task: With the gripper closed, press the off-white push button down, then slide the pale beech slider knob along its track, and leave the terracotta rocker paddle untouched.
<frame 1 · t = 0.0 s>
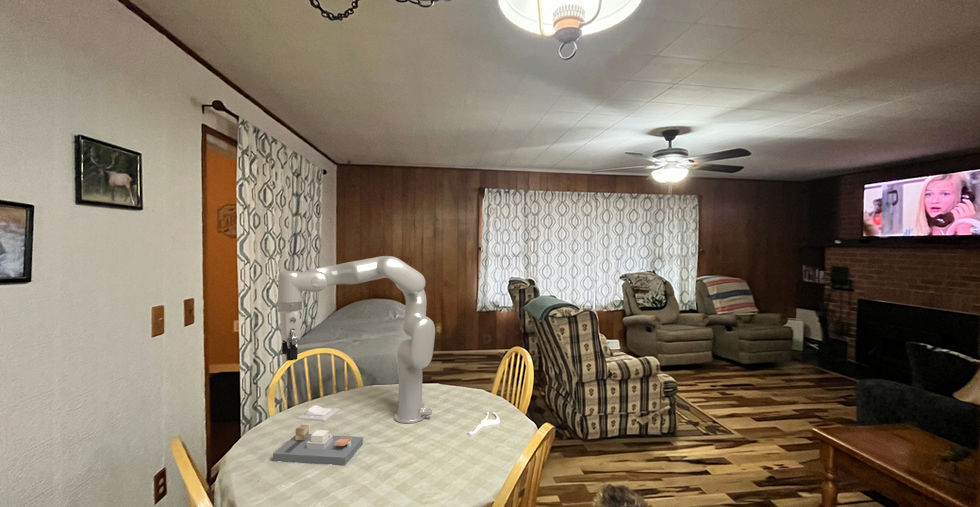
hand: (289, 356, 135), 31 cm above the table, tool pointing down, fingers open, 9 cm apart
switch panel: (319, 452, 132), on the table
rocker paddle: (343, 441, 132), point 4 cm above the table, hinge at 12.0°
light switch: (318, 416, 163), on the table
push button: (320, 436, 132), point 5 cm above the table, slide at 0.0 cm
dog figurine: (483, 427, 155), on the table
slider knob: (302, 432, 136), point 5 cm above the table, slide at 0.0 cm
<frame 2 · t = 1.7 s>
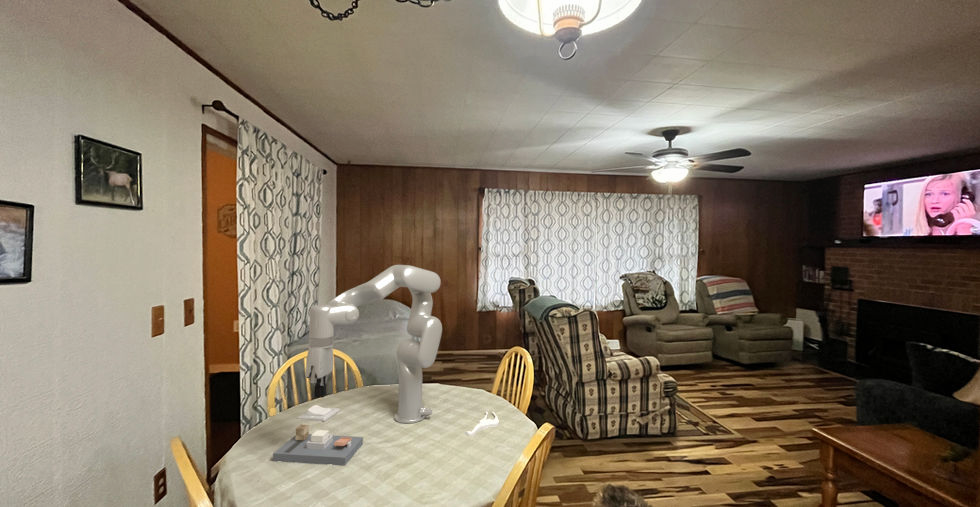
hand: (320, 396, 132), 19 cm above the table, tool pointing down, fingers closed
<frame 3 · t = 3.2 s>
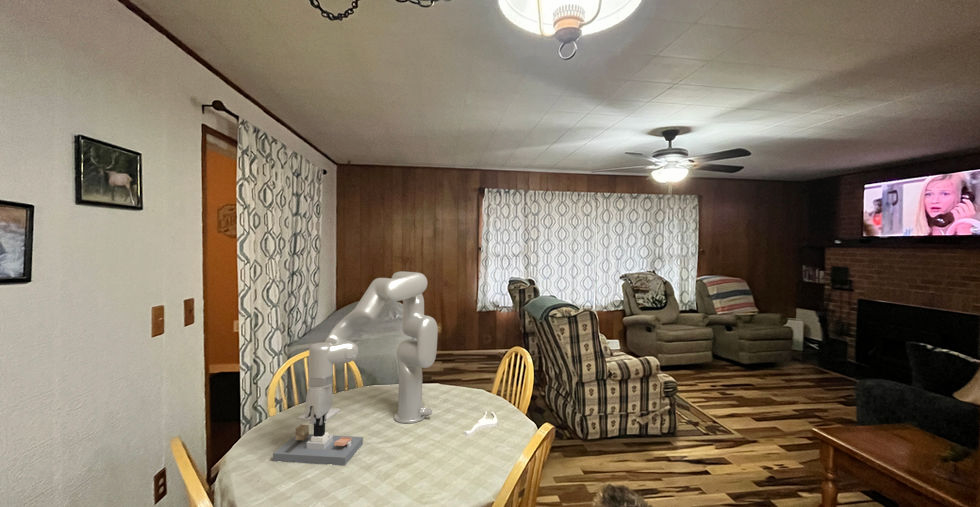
hand: (319, 435, 132), 6 cm above the table, tool pointing down, fingers closed
push button: (320, 438, 132), point 5 cm above the table, slide at 0.7 cm, touching gripper
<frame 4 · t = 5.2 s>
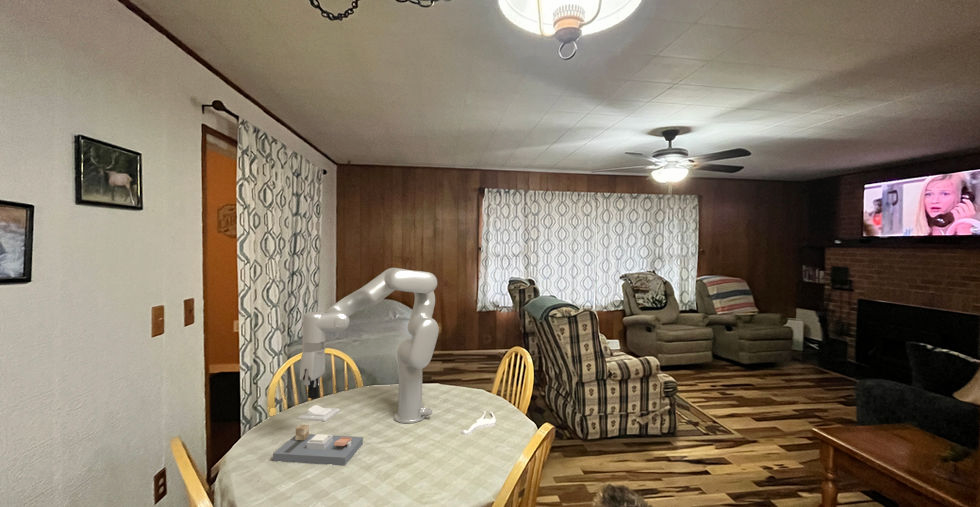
hand: (313, 397, 141), 15 cm above the table, tool pointing down, fingers closed
push button: (320, 440, 132), point 4 cm above the table, slide at 1.4 cm
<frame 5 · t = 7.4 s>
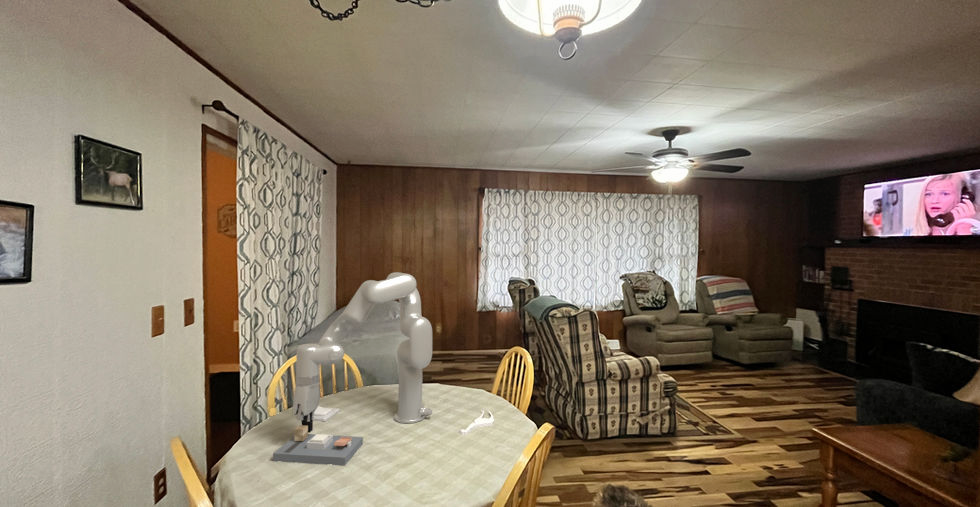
hand: (307, 431, 139), 4 cm above the table, tool pointing down, fingers closed
slider knob: (301, 433, 136), point 5 cm above the table, slide at 0.6 cm, touching gripper
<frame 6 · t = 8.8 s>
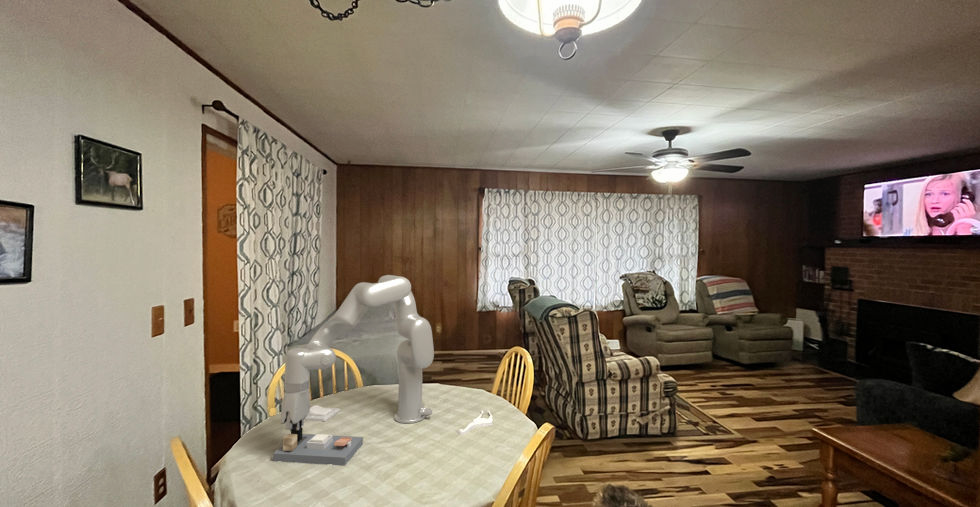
hand: (296, 440, 133), 4 cm above the table, tool pointing down, fingers closed
slider knob: (290, 442, 129), point 5 cm above the table, slide at 7.1 cm, touching gripper
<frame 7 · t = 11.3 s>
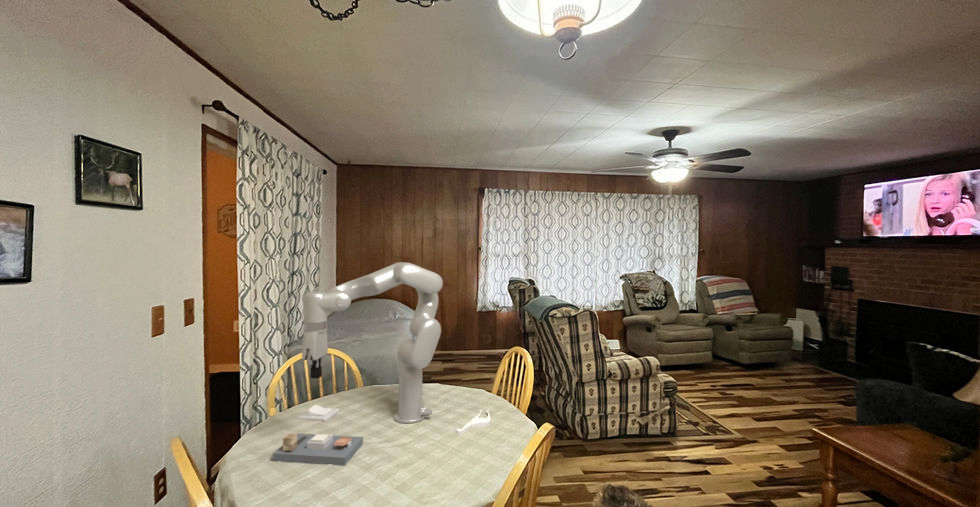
hand: (316, 377, 141), 22 cm above the table, tool pointing down, fingers closed
slider knob: (290, 442, 129), point 5 cm above the table, slide at 7.1 cm
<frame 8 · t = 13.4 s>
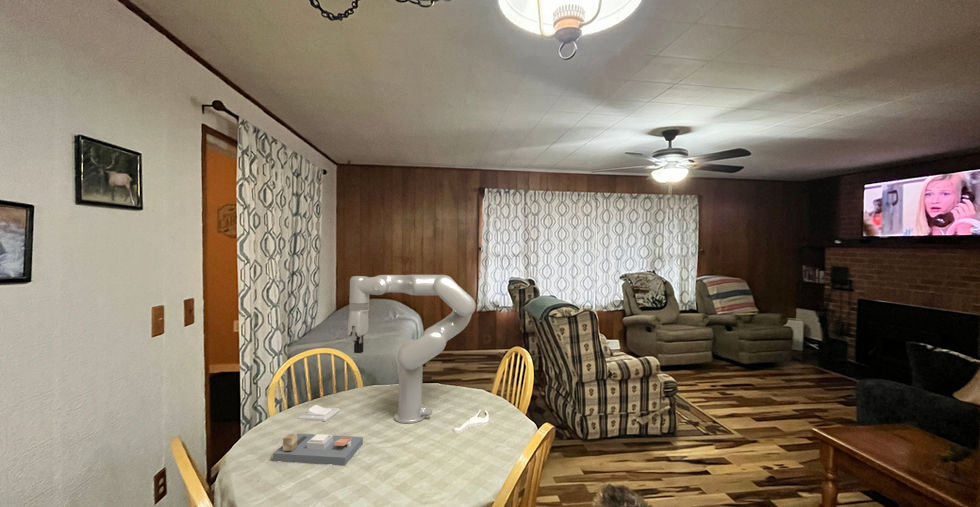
hand: (358, 352, 158), 27 cm above the table, tool pointing down, fingers closed
at the end: push button slide at 1.4 cm; slider knob slide at 7.1 cm; rocker paddle at +12° (first picture: +12°) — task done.
